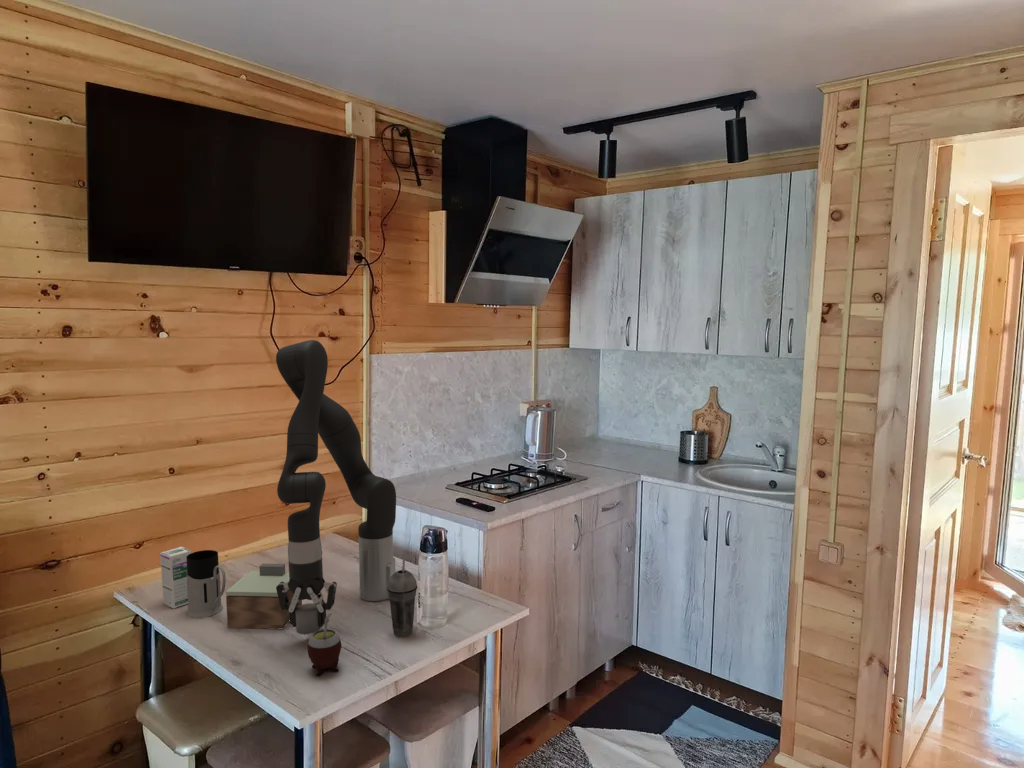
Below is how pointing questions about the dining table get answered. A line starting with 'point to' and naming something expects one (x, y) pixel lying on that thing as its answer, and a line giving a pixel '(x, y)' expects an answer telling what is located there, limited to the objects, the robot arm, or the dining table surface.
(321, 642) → the mate gourd
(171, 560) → the syrup box
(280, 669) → the dining table surface
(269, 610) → the storage box
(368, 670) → the dining table surface
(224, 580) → the glass holder
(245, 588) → the lid
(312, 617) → the grey rounded cylinder
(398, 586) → the beverage cup
